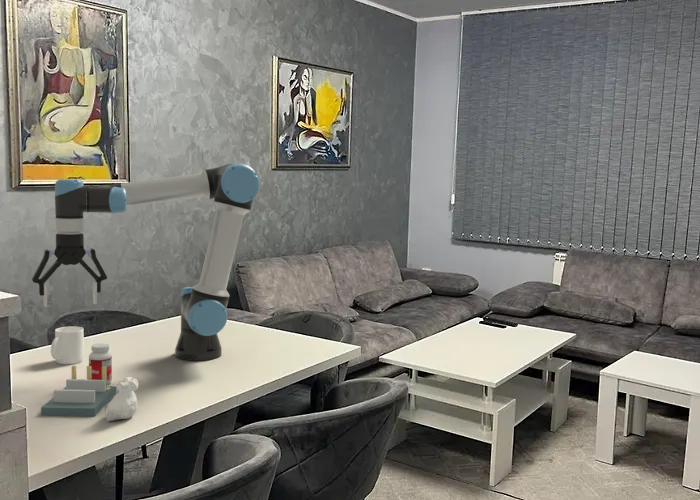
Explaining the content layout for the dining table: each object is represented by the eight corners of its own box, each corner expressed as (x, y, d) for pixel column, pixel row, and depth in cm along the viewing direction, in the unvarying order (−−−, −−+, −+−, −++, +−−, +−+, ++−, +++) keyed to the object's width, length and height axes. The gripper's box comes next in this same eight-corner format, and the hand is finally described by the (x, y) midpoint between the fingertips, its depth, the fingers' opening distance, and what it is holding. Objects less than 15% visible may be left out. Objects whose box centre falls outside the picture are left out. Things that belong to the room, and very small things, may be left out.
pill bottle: (84, 382, 199) (84, 344, 198) (104, 378, 204) (104, 341, 203) (96, 387, 195) (96, 349, 194) (116, 383, 200) (116, 345, 199)
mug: (62, 369, 212) (62, 335, 211) (40, 365, 215) (40, 332, 213) (89, 359, 223) (89, 328, 222) (68, 356, 226) (68, 325, 225)
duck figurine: (112, 434, 168) (140, 400, 166) (88, 413, 168) (116, 379, 166) (134, 417, 180) (160, 385, 178) (111, 398, 180) (137, 366, 178)
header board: (116, 393, 191) (116, 364, 190) (94, 416, 173) (94, 384, 172) (67, 392, 190) (67, 363, 190) (41, 415, 173) (40, 383, 172)
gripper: (112, 231, 212) (112, 300, 214) (21, 232, 200) (22, 305, 202) (116, 233, 205) (117, 304, 208) (23, 234, 193) (24, 310, 196)
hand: (70, 305), depth 205 cm, fingers open, 13 cm apart
